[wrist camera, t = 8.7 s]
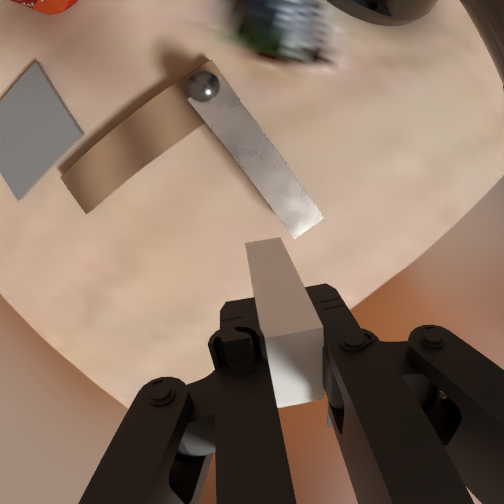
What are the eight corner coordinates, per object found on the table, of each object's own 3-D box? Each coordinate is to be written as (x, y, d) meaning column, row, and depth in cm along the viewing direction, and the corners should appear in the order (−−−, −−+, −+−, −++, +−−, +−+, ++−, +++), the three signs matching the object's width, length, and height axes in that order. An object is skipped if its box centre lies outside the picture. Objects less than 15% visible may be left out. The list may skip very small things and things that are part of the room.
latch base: (211, 62, 24) (211, 59, 23) (239, 101, 25) (240, 100, 24) (65, 175, 26) (60, 177, 25) (90, 211, 27) (86, 214, 26)
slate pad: (39, 62, 21) (35, 61, 20) (84, 134, 25) (81, 134, 24) (-18, 130, 22) (-23, 131, 22) (22, 199, 26) (18, 200, 25)
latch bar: (181, 91, 23) (176, 86, 20) (211, 70, 23) (210, 62, 20) (288, 230, 28) (295, 241, 26) (315, 210, 28) (326, 220, 25)
